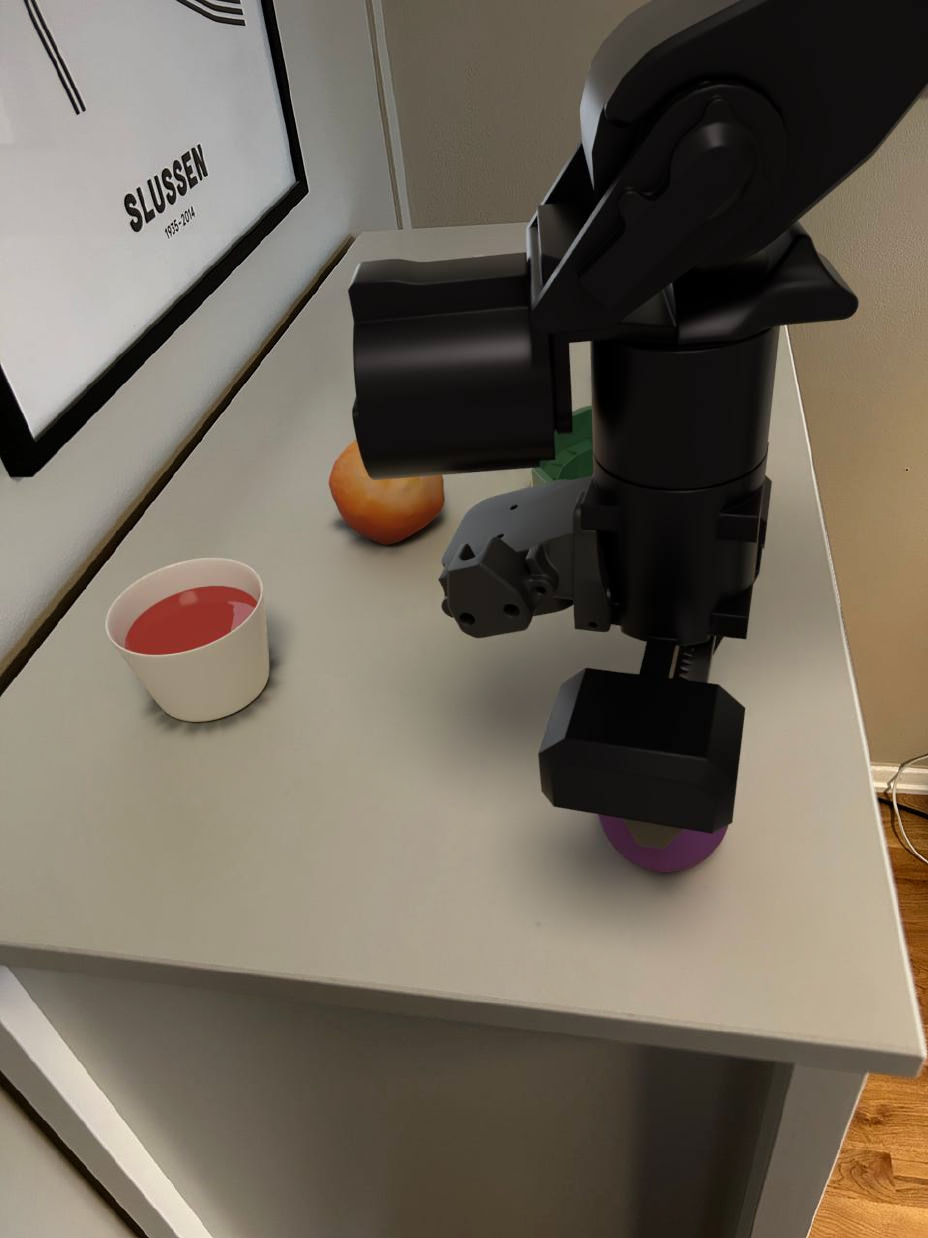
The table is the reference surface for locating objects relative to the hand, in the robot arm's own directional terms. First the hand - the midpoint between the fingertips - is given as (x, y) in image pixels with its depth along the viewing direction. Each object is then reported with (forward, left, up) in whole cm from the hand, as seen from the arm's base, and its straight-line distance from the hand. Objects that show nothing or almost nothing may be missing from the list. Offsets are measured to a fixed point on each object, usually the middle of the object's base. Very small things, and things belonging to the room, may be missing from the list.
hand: (666, 760), depth 41 cm
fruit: (+23, -24, -6) cm, 34 cm away
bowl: (+6, -28, -6) cm, 29 cm away
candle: (+28, -6, -6) cm, 29 cm away
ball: (0, 0, -3) cm, 3 cm away
